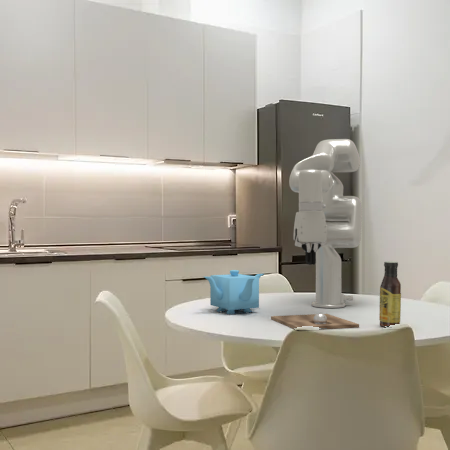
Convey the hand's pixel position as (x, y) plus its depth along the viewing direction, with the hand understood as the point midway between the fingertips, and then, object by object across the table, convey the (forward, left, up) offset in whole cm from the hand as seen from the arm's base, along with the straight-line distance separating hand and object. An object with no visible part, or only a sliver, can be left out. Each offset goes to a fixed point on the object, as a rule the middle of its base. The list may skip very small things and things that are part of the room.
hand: (310, 264), depth 202 cm
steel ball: (+2, +12, -16) cm, 20 cm away
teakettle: (+18, -24, -18) cm, 35 cm away
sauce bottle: (-18, +18, -18) cm, 32 cm away
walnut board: (+2, +6, -18) cm, 19 cm away
